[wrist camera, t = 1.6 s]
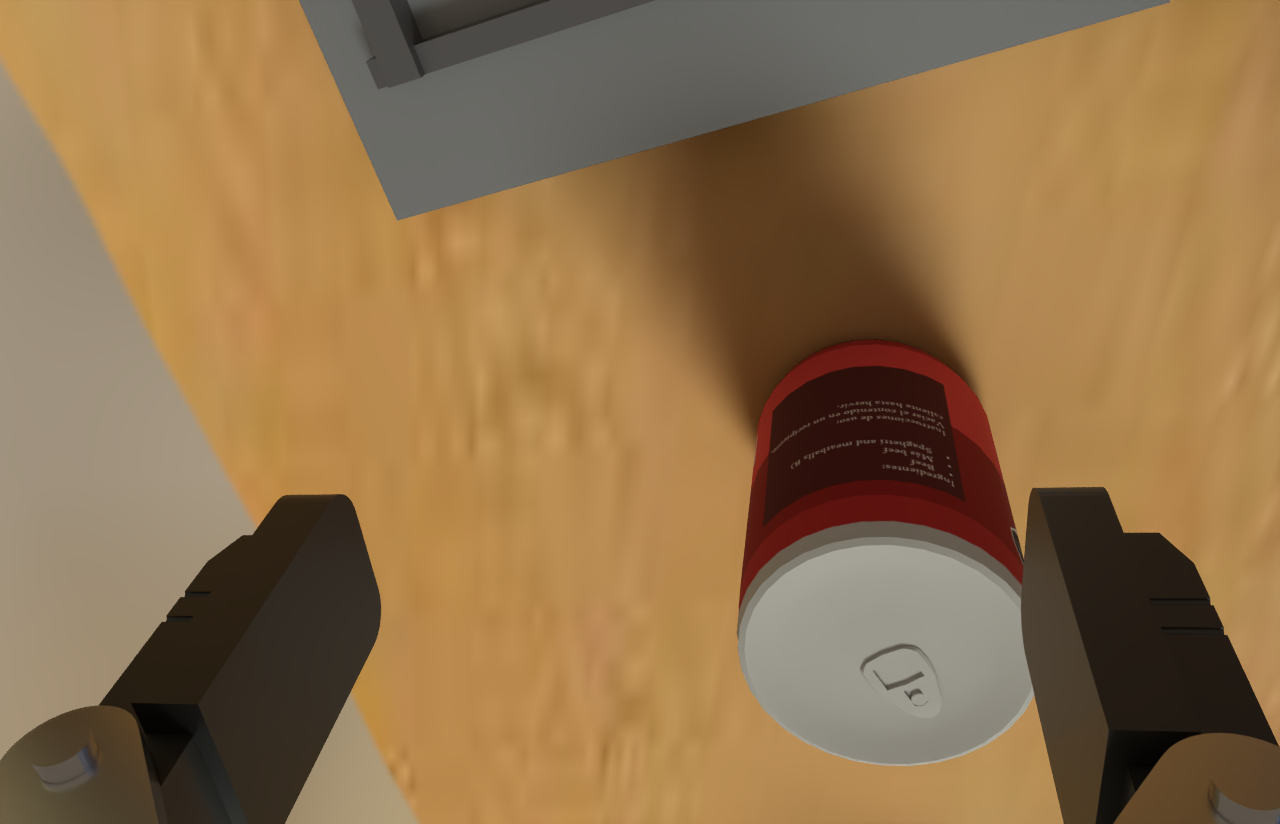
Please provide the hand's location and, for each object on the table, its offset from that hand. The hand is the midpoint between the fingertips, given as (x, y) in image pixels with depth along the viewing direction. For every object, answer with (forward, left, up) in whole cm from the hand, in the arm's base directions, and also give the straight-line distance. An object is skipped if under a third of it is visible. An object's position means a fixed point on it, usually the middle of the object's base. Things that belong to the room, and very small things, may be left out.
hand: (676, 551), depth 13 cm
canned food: (0, +13, -22) cm, 26 cm away
